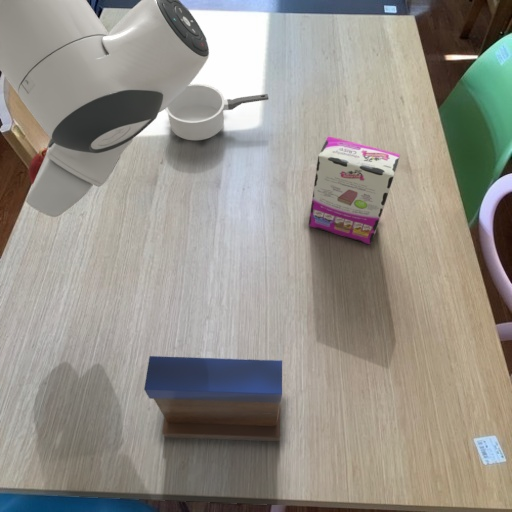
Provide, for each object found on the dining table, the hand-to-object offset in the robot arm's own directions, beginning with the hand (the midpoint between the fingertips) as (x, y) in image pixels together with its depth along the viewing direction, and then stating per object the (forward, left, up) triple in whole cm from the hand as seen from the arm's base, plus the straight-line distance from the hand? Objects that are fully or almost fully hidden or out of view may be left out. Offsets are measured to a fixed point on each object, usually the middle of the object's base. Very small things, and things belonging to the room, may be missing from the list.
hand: (46, 169), depth 62 cm
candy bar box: (+28, -32, -19) cm, 47 cm away
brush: (-9, -34, -19) cm, 40 cm away
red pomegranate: (0, 0, -5) cm, 5 cm away
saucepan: (+37, +1, -19) cm, 42 cm away
